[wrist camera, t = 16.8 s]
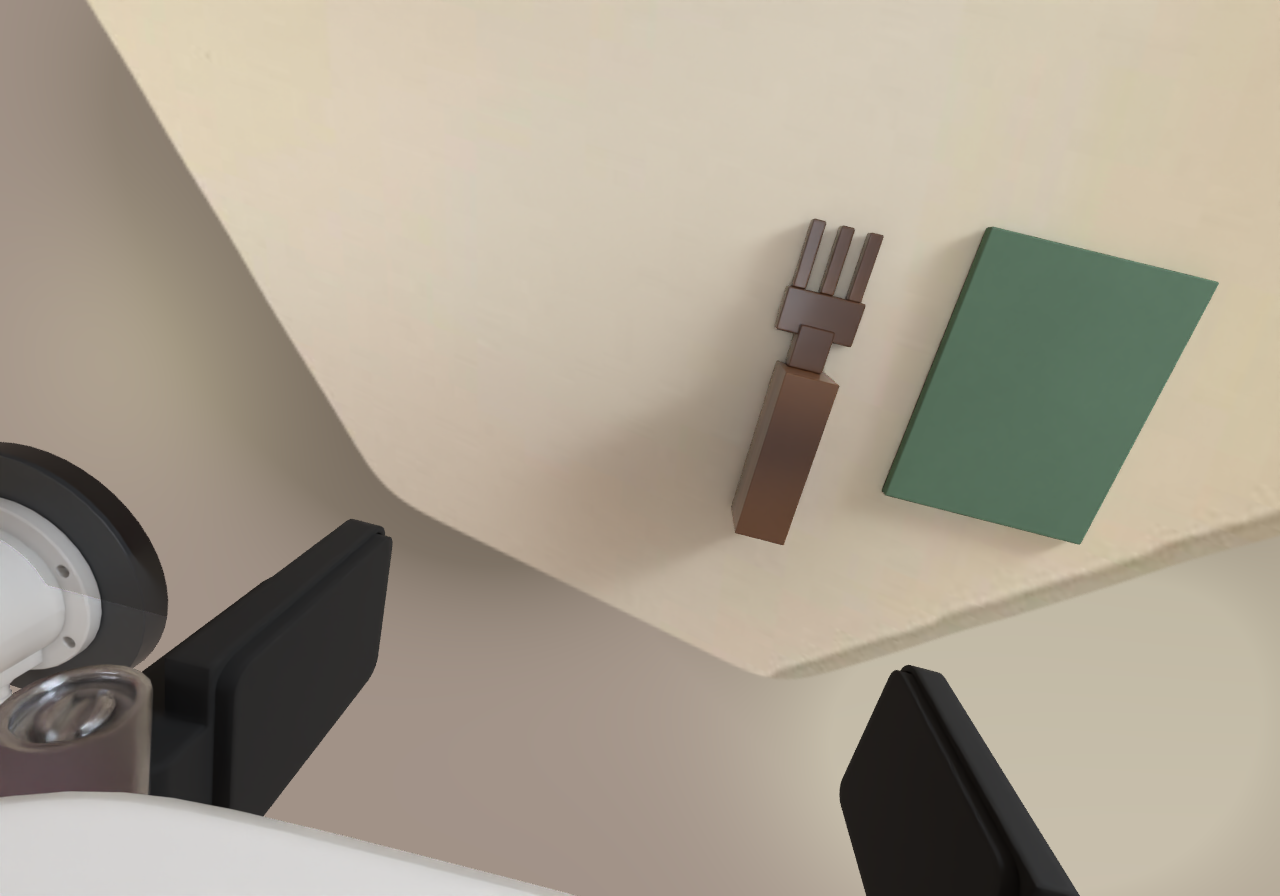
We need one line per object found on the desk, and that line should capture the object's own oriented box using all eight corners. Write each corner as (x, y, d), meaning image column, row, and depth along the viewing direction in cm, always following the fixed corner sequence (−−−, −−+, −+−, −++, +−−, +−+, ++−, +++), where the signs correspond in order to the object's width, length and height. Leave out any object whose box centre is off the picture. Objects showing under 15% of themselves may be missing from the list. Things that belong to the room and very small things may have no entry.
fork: (786, 520, 31) (795, 548, 28) (720, 504, 31) (722, 530, 28) (884, 237, 27) (908, 234, 24) (807, 218, 27) (821, 212, 24)
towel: (1073, 540, 30) (1080, 545, 30) (881, 491, 30) (884, 495, 30) (1209, 281, 26) (1220, 282, 25) (986, 227, 26) (992, 226, 26)
